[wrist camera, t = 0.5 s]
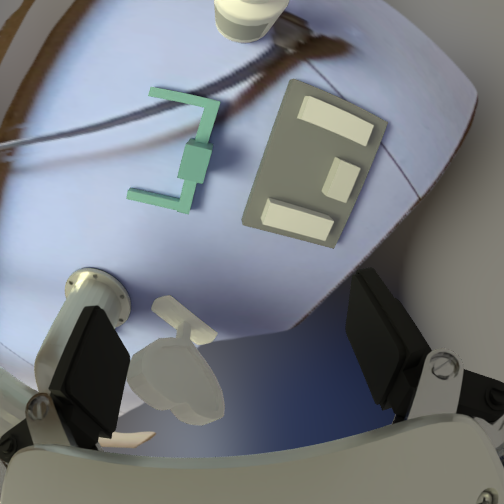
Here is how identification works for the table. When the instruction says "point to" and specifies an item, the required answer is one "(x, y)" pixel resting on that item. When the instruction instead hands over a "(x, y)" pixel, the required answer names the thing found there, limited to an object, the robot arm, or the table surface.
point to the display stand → (313, 166)
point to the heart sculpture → (178, 368)
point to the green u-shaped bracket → (185, 154)
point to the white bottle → (247, 18)
